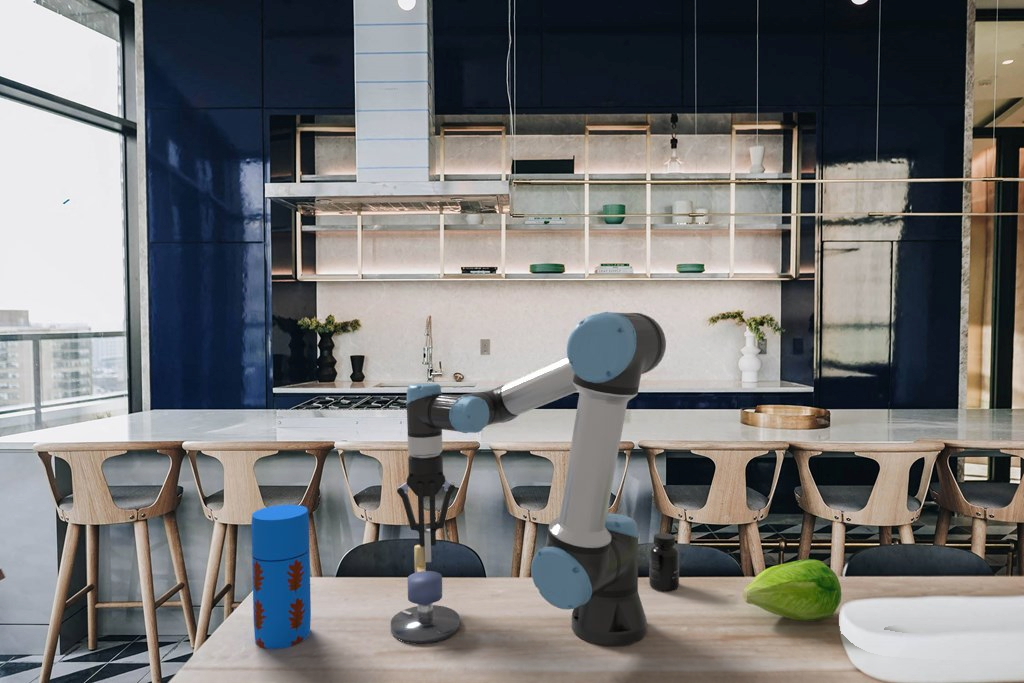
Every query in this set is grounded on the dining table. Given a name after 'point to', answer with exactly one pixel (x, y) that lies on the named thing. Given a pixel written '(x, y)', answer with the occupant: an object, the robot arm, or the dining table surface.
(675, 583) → the supplement bottle
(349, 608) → the dining table surface
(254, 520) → the thermos
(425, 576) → the blue crank handle
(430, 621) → the post base
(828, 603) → the lettuce
